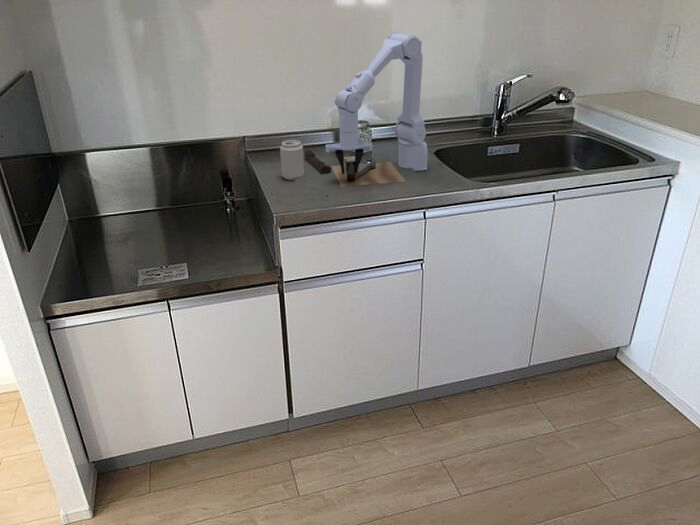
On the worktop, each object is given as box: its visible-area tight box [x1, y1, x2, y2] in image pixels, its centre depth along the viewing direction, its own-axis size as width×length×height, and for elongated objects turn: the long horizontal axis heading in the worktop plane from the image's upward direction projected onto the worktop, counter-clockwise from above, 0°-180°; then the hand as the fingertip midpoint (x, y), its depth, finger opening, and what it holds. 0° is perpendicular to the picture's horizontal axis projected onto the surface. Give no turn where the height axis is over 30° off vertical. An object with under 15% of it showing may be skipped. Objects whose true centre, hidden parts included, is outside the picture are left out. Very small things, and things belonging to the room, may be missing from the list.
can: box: [279, 139, 305, 181], centre depth 191 cm, size 8×8×12 cm
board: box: [330, 155, 407, 188], centre depth 192 cm, size 21×20×4 cm
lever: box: [346, 157, 377, 182], centre depth 190 cm, size 18×4×6 cm, turn 154°
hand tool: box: [304, 149, 332, 175], centre depth 200 cm, size 19×4×5 cm, turn 22°
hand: (349, 172), depth 185 cm, fingers open, 4 cm apart
